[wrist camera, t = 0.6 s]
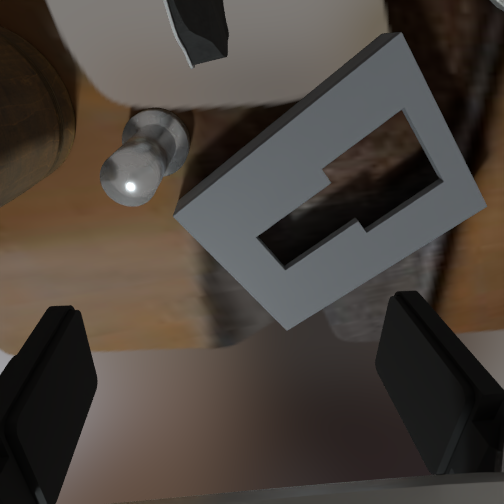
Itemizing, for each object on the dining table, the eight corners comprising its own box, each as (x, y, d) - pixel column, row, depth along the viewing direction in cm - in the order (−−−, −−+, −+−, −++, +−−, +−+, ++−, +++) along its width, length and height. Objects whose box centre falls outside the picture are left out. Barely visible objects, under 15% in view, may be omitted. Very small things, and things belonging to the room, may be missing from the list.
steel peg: (158, 93, 36) (125, 115, 24) (202, 145, 38) (191, 186, 27) (113, 135, 37) (63, 174, 26) (159, 182, 40) (131, 236, 29)
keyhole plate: (178, 200, 41) (172, 216, 37) (381, 33, 34) (401, 32, 30) (282, 308, 49) (286, 330, 45) (463, 191, 42) (487, 206, 39)
